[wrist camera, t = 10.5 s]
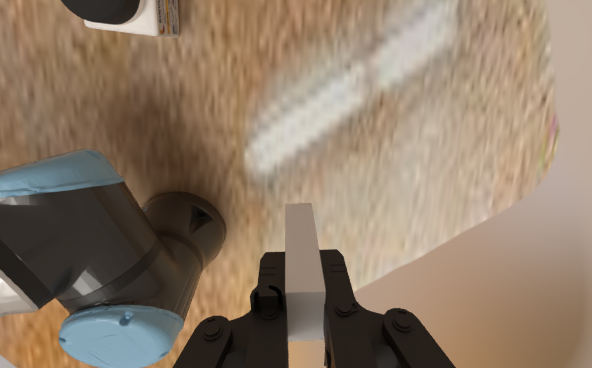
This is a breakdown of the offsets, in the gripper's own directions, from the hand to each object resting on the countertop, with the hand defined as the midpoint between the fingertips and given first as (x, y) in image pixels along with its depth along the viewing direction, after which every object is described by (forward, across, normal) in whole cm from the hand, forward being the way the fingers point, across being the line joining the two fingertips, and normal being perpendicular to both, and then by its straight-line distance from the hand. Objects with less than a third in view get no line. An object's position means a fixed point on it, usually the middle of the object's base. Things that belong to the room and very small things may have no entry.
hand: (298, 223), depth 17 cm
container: (+30, -18, +15) cm, 38 cm away
